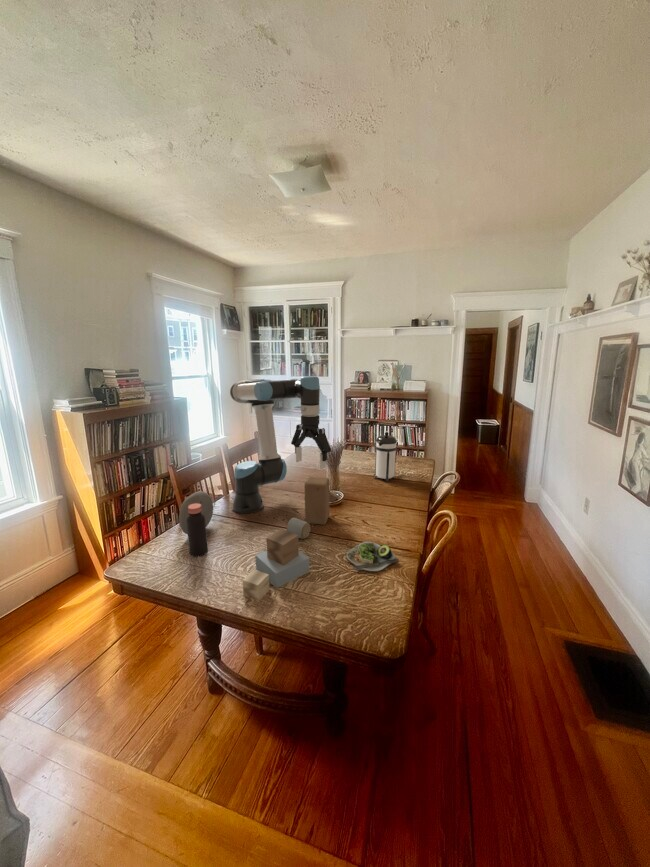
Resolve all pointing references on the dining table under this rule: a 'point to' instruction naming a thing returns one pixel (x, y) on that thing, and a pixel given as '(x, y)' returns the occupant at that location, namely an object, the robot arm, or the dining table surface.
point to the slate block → (282, 568)
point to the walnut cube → (282, 546)
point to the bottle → (196, 531)
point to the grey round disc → (192, 499)
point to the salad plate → (371, 556)
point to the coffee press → (385, 457)
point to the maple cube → (256, 585)
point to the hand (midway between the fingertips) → (310, 464)
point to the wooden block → (317, 500)
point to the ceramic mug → (298, 527)
